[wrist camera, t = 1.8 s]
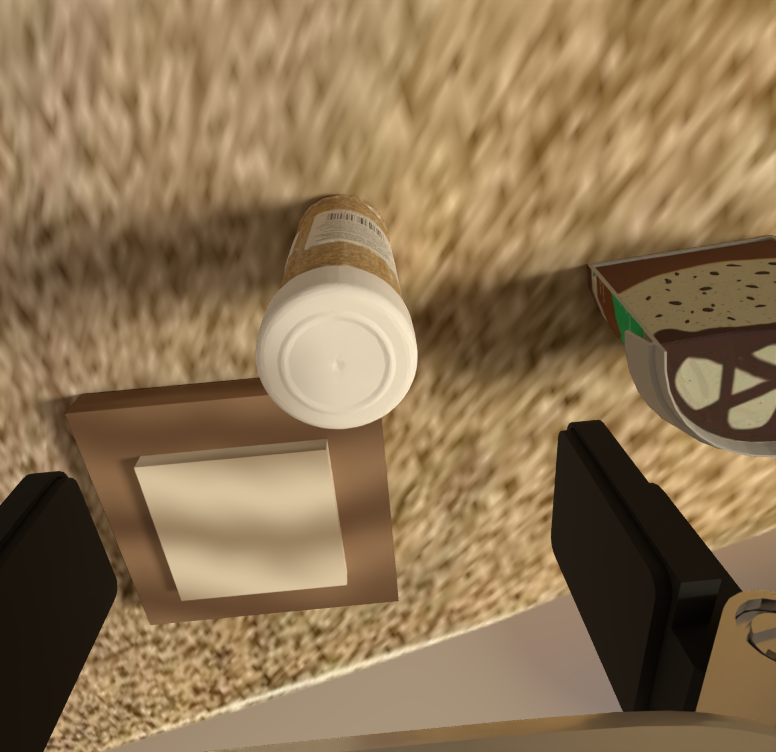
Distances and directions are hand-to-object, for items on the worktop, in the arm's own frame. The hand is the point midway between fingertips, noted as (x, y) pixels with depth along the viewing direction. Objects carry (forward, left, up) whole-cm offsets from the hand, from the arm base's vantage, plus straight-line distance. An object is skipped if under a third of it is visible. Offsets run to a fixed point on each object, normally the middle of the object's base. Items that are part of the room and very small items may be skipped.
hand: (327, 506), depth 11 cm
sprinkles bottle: (0, 0, -19) cm, 19 cm away
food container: (+5, +17, -19) cm, 26 cm away
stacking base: (+15, -7, -19) cm, 25 cm away
